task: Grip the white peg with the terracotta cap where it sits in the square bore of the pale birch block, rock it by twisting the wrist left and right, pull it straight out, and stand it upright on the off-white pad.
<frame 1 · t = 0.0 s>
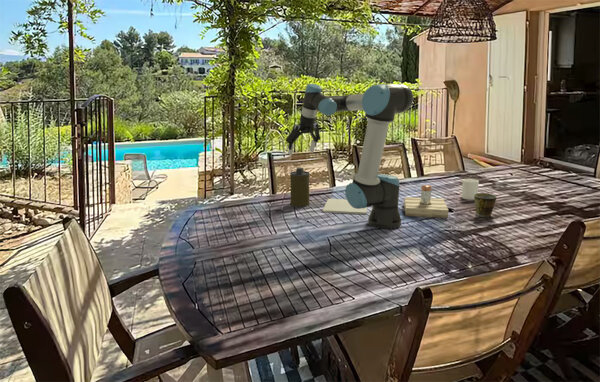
hand: (300, 153, 231), 28 cm above the table, tool tilted 20°, fingers open, 13 cm apart
cup: (468, 197, 250), on the table
white peg: (425, 198, 224), in the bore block
pad: (346, 207, 233), on the table
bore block: (424, 210, 226), on the table
ceramic cup: (482, 216, 217), on the table
canister: (300, 204, 239), on the table
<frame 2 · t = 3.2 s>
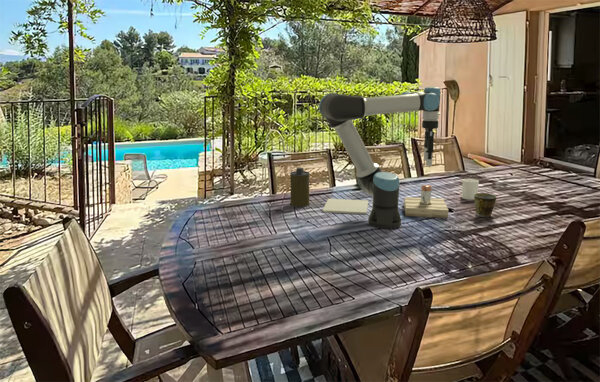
hand: (427, 163, 220), 25 cm above the table, tool pointing down, fingers open, 13 cm apart
nothing on the table moved.
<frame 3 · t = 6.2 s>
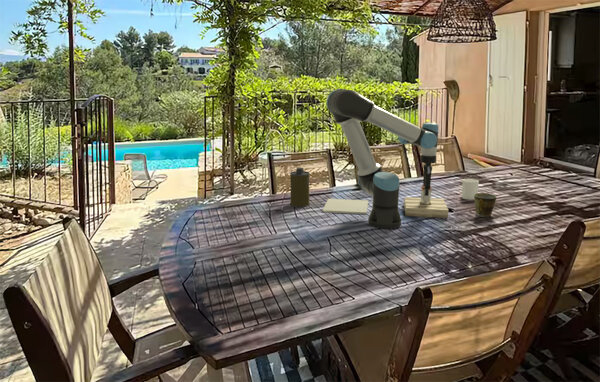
hand: (425, 200, 224), 6 cm above the table, tool pointing down, fingers closed on white peg, 5 cm apart
white peg: (425, 198, 224), in the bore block, touching gripper
everything else where it was.
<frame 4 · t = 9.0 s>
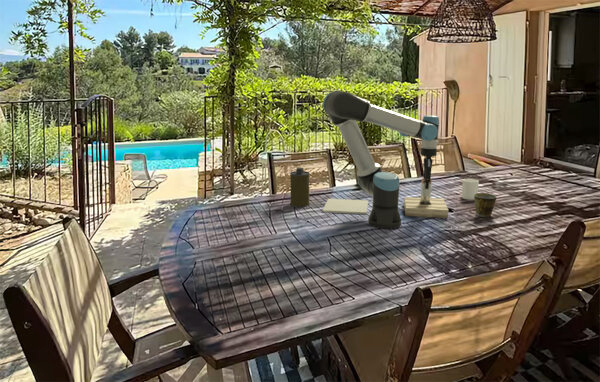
hand: (425, 193, 223), 9 cm above the table, tool pointing down, fingers closed on white peg, 5 cm apart
white peg: (425, 191, 223), point 10 cm above the table, touching gripper
everything else where it was.
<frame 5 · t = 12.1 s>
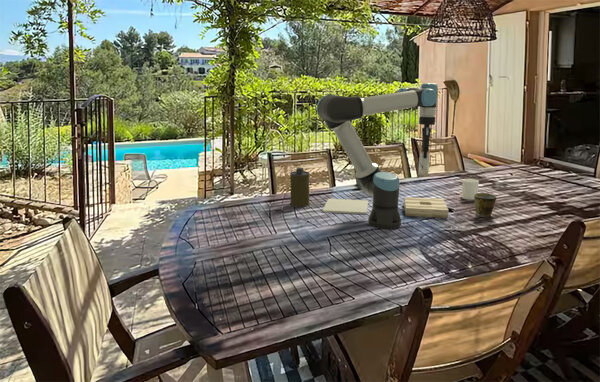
hand: (424, 163, 220), 25 cm above the table, tool pointing down, fingers closed on white peg, 5 cm apart
white peg: (424, 161, 220), point 25 cm above the table, touching gripper
everything else where it was.
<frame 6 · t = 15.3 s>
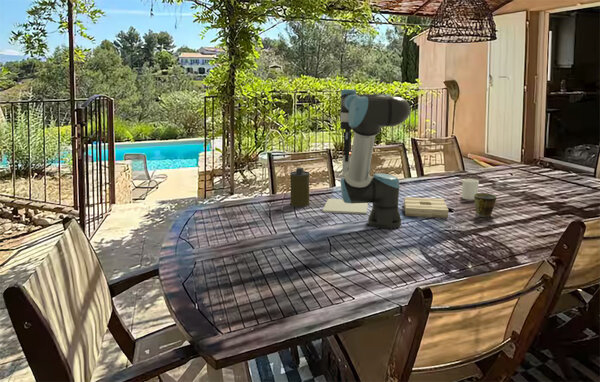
hand: (347, 166, 228), 22 cm above the table, tool pointing down, fingers closed on white peg, 5 cm apart
white peg: (347, 165, 228), point 22 cm above the table, touching gripper
everything else where it was.
when the fingers open (8 cm above the table, at t = 18.2 s): white peg drops 1 cm, resting on pad.
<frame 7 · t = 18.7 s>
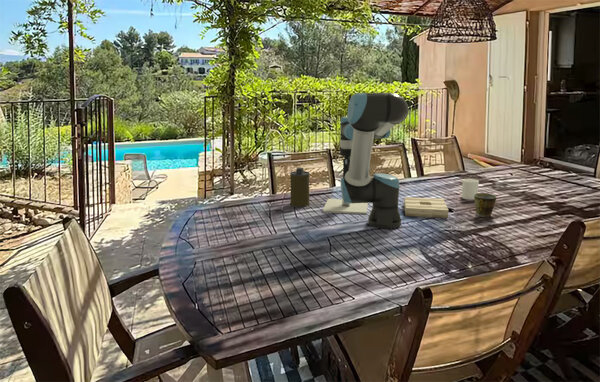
hand: (346, 189, 231), 10 cm above the table, tool pointing down, fingers open, 11 cm apart
white peg: (346, 193, 231), on the pad, point 8 cm above the table
everything else where it was.
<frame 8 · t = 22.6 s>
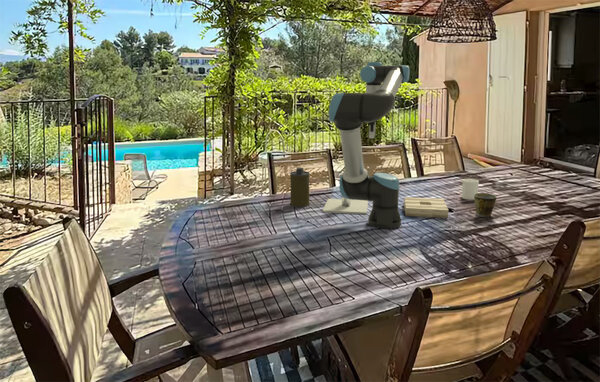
hand: (372, 136, 227), 37 cm above the table, tool pointing down, fingers open, 13 cm apart
nothing on the table moved.
at the end: white peg inside the target area on the pad (0.1 cm from its centre), point 7.5 cm above the pad's base; white peg tilted 1°; the gripper is holding nothing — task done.
